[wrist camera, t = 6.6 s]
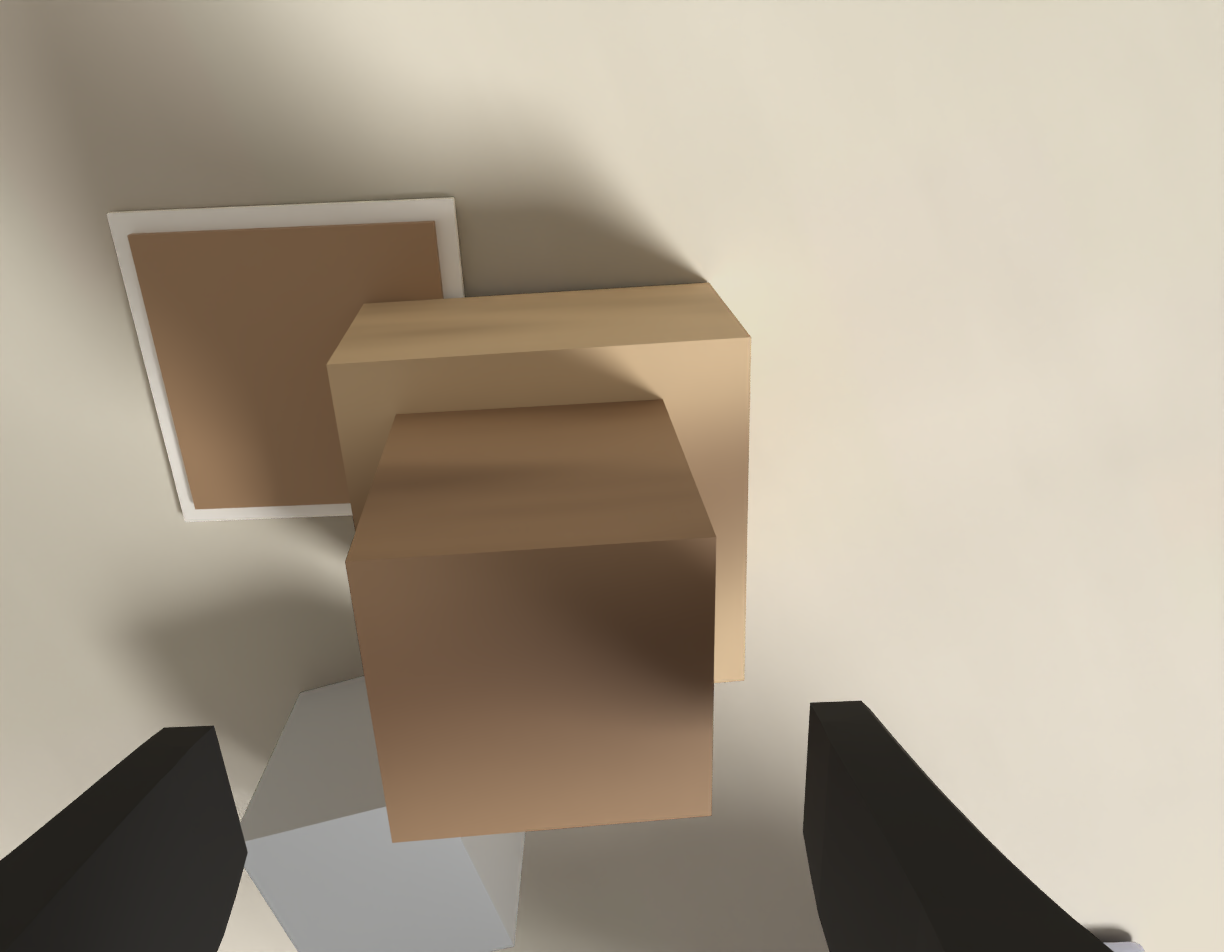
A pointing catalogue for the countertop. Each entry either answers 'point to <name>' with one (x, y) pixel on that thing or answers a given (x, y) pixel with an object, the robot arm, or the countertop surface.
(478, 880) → the grey cube
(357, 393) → the oak slab
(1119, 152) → the countertop surface
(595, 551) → the walnut cube
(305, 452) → the walnut swatch
